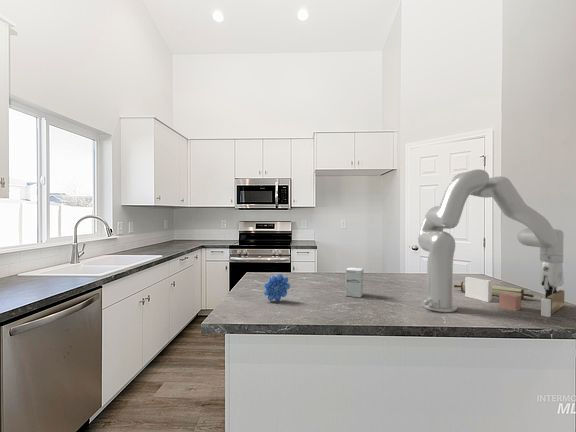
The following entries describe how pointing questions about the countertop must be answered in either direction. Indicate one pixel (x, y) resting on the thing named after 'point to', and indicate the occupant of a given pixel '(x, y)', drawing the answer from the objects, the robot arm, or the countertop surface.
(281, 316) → the countertop surface
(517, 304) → the block
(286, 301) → the countertop surface
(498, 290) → the rolling pin
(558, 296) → the door
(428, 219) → the robot arm
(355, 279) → the supplement box
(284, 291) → the grapes
